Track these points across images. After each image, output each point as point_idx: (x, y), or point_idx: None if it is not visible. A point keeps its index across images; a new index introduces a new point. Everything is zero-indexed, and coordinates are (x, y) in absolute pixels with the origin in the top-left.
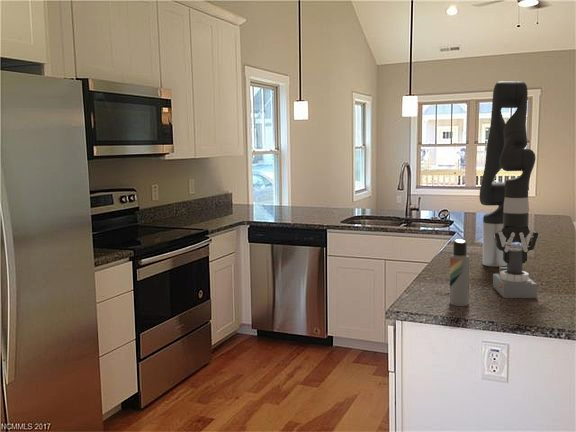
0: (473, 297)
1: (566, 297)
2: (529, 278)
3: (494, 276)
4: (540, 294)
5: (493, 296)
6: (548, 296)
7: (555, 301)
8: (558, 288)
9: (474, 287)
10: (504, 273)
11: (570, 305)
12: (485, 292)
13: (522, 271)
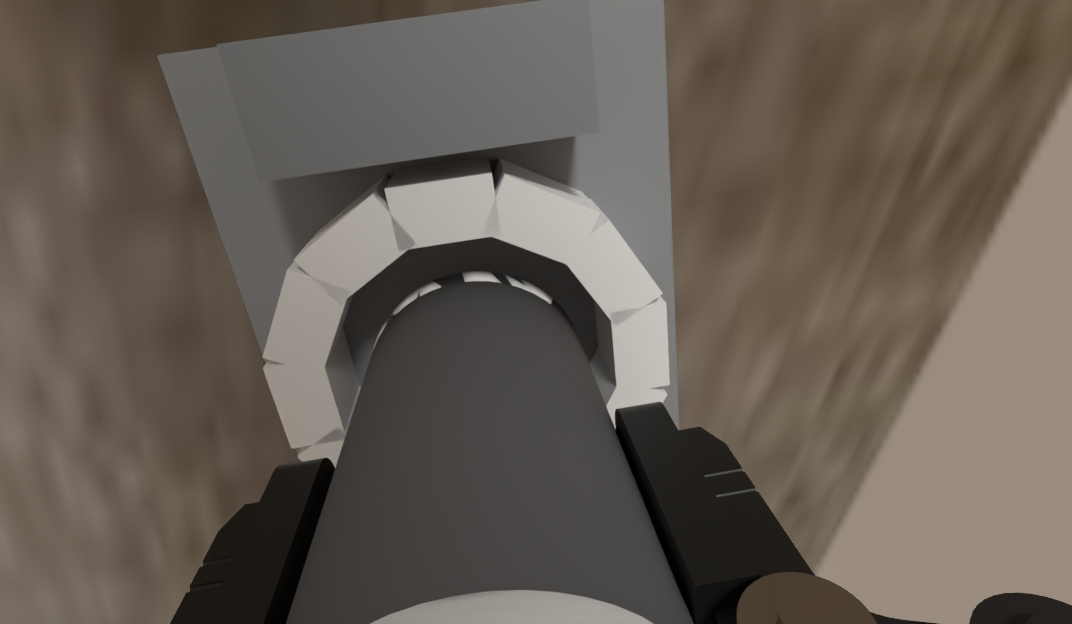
0: (97, 518)
1: (888, 366)
2: (670, 290)
3: (201, 152)
4: (707, 312)
5: (274, 455)
6: (754, 364)
7: (756, 489)
8: (977, 30)
9: (10, 135)
10: (329, 442)
11: (819, 555)
12: (182, 337)
13: (611, 274)
